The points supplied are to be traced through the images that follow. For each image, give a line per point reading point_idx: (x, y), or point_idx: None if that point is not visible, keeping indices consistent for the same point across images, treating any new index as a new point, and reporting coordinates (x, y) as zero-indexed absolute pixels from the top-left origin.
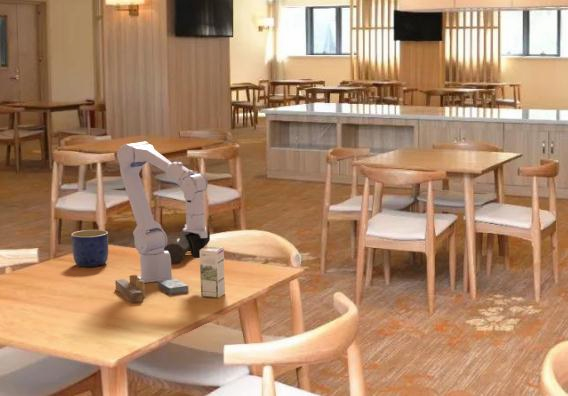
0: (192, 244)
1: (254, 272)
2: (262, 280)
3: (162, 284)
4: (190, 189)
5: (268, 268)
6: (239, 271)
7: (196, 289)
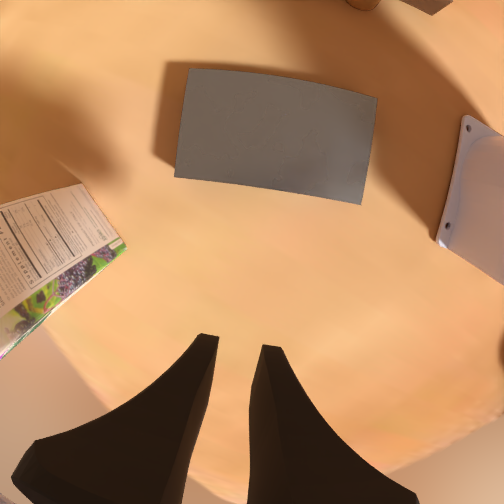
0: (142, 417)
1: None
2: None
3: (304, 81)
4: None
5: None
6: None
7: (208, 233)
